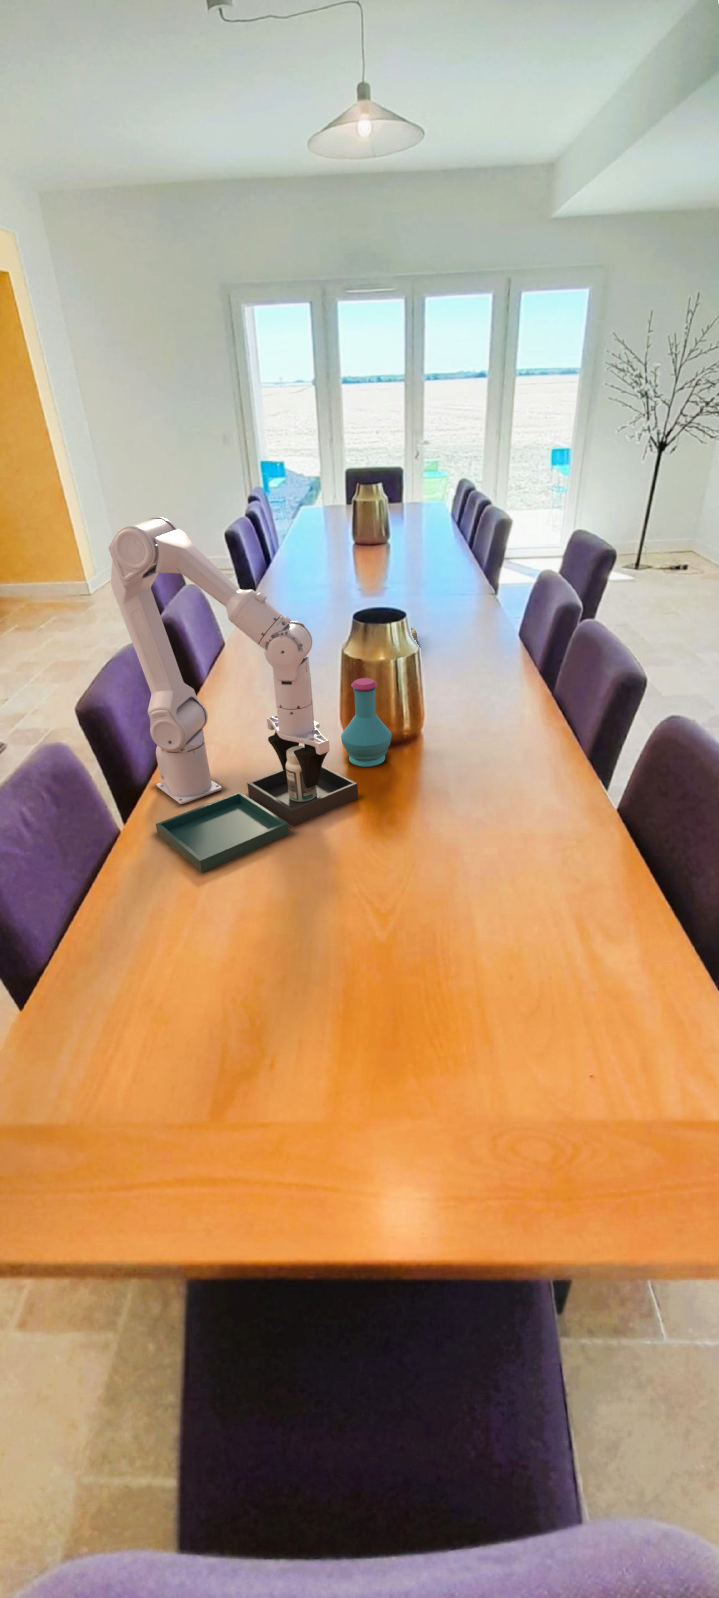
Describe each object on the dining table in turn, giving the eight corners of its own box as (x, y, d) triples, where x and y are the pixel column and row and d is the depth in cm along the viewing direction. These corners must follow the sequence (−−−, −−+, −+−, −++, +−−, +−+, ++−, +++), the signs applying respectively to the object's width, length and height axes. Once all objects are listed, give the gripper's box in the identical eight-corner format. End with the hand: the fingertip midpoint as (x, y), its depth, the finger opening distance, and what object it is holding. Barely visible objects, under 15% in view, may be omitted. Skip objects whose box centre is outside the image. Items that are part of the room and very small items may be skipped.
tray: (157, 834, 112) (155, 823, 111) (241, 801, 121) (239, 791, 120) (201, 872, 103) (199, 861, 102) (289, 834, 111) (288, 823, 110)
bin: (248, 797, 122) (246, 782, 121) (311, 772, 129) (310, 758, 128) (293, 826, 113) (291, 810, 112) (358, 798, 120) (357, 783, 119)
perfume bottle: (387, 771, 128) (385, 691, 121) (337, 768, 130) (332, 689, 123) (395, 749, 136) (394, 673, 129) (348, 747, 138) (344, 672, 131)
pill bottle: (320, 790, 122) (316, 745, 118) (313, 803, 118) (309, 757, 114) (293, 788, 123) (288, 743, 119) (285, 802, 119) (280, 756, 115)
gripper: (343, 707, 110) (347, 786, 117) (289, 685, 120) (296, 758, 127) (305, 720, 106) (312, 801, 113) (253, 696, 116) (262, 771, 123)
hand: (301, 779), depth 119 cm, fingers open, 5 cm apart
